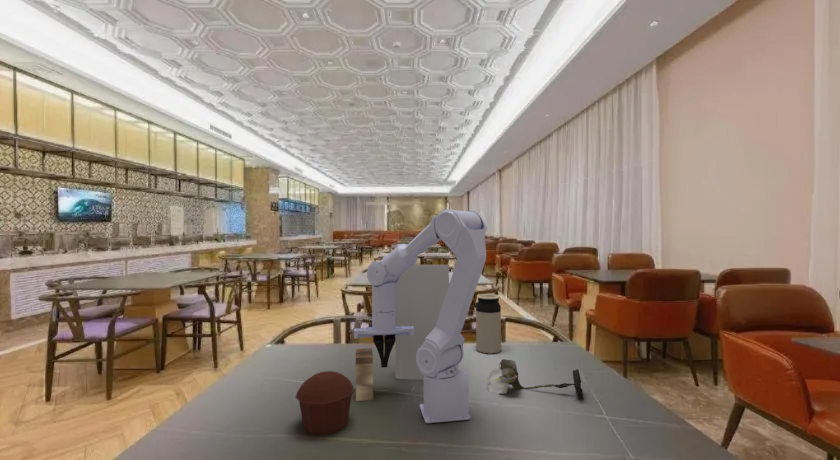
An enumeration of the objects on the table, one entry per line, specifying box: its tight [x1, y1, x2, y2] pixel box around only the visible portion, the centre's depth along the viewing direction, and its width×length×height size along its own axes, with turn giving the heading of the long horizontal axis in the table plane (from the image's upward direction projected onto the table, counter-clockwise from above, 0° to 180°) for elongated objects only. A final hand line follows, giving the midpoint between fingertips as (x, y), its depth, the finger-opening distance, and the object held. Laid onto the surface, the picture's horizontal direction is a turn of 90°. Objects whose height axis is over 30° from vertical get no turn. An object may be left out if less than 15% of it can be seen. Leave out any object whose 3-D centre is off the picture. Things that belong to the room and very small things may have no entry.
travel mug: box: [475, 293, 502, 355], centre depth 126 cm, size 8×8×18 cm
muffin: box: [295, 370, 355, 435], centre depth 78 cm, size 12×11×10 cm
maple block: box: [355, 347, 374, 402], centre depth 92 cm, size 4×7×10 cm, turn 9°
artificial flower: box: [487, 358, 584, 400], centre depth 92 cm, size 9×22×10 cm, turn 71°
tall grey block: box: [394, 264, 450, 381], centre depth 104 cm, size 14×6×30 cm, turn 84°
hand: (384, 366), depth 93 cm, fingers closed
